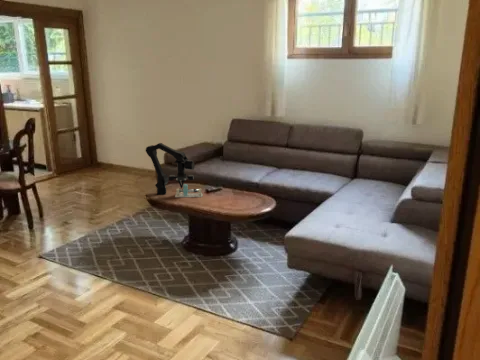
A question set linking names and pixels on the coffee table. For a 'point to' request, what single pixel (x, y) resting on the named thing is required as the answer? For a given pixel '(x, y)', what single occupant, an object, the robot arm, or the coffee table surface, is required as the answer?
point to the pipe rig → (189, 193)
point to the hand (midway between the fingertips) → (181, 188)
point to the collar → (185, 189)
